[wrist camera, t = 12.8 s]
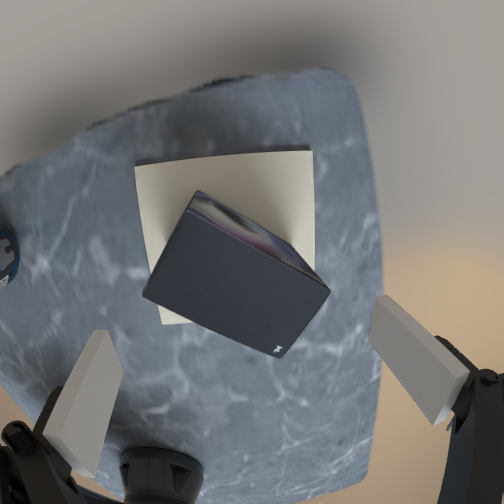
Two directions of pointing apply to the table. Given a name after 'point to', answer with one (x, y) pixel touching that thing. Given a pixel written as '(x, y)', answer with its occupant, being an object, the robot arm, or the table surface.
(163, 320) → the mat
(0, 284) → the soda can
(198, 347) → the table surface
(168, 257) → the small box
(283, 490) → the table surface
